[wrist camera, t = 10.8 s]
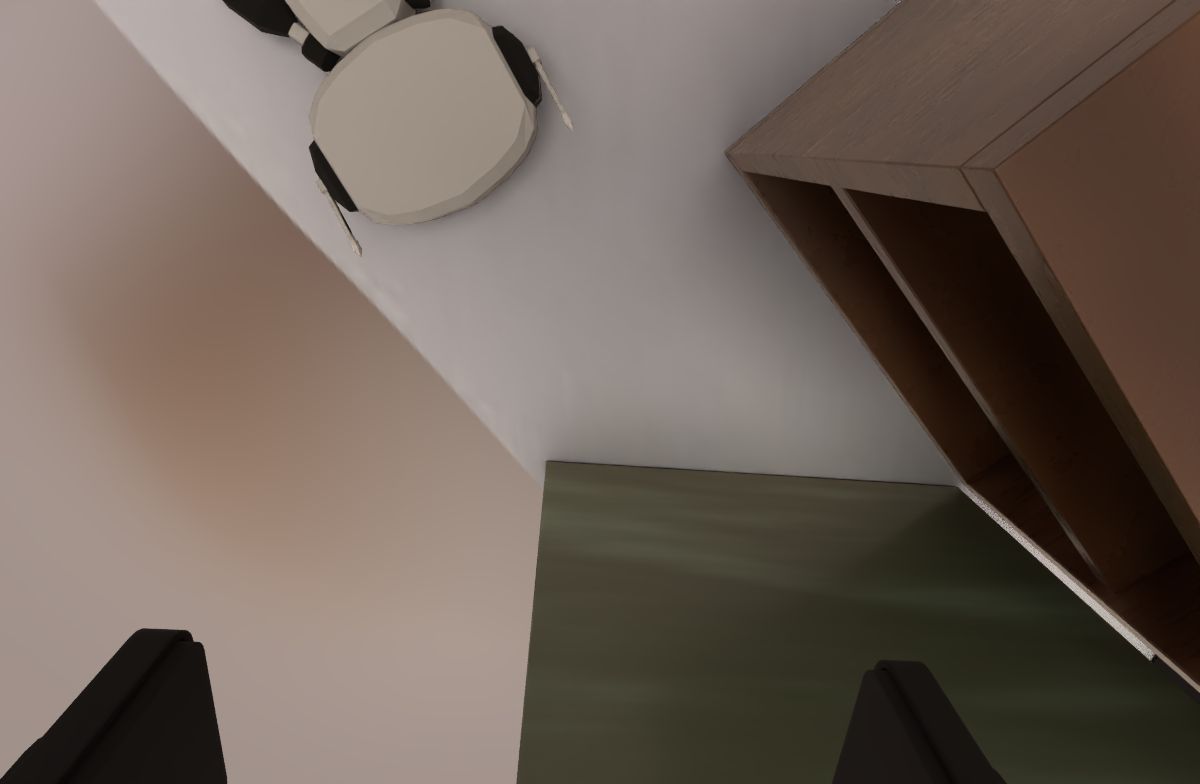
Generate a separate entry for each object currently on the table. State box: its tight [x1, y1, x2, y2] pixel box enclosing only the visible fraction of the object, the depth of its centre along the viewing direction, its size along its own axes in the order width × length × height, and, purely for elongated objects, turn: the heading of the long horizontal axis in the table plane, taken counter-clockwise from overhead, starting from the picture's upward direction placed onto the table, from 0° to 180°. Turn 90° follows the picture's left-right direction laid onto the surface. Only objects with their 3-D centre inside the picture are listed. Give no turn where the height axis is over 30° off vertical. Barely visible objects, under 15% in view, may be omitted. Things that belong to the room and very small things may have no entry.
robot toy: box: [223, 0, 573, 257], centre depth 31 cm, size 12×4×15 cm
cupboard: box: [725, 0, 1200, 693], centre depth 26 cm, size 18×26×24 cm
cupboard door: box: [517, 462, 1200, 784], centre depth 32 cm, size 7×26×24 cm, turn 85°
